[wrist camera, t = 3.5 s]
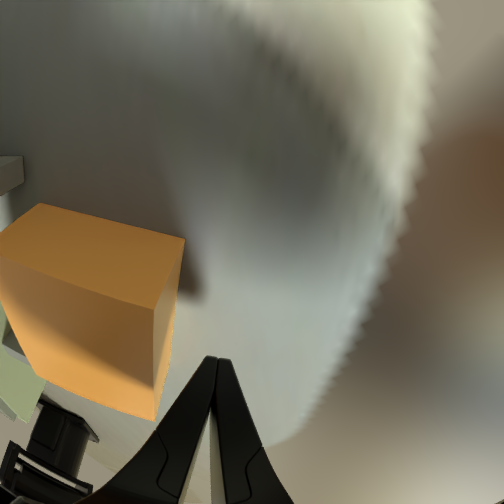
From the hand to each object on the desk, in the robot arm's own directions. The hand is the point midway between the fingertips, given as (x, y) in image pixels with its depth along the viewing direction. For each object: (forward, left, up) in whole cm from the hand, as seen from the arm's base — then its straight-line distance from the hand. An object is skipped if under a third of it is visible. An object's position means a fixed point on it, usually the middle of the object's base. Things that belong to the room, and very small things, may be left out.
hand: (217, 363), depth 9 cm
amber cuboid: (0, +5, -2) cm, 5 cm away
